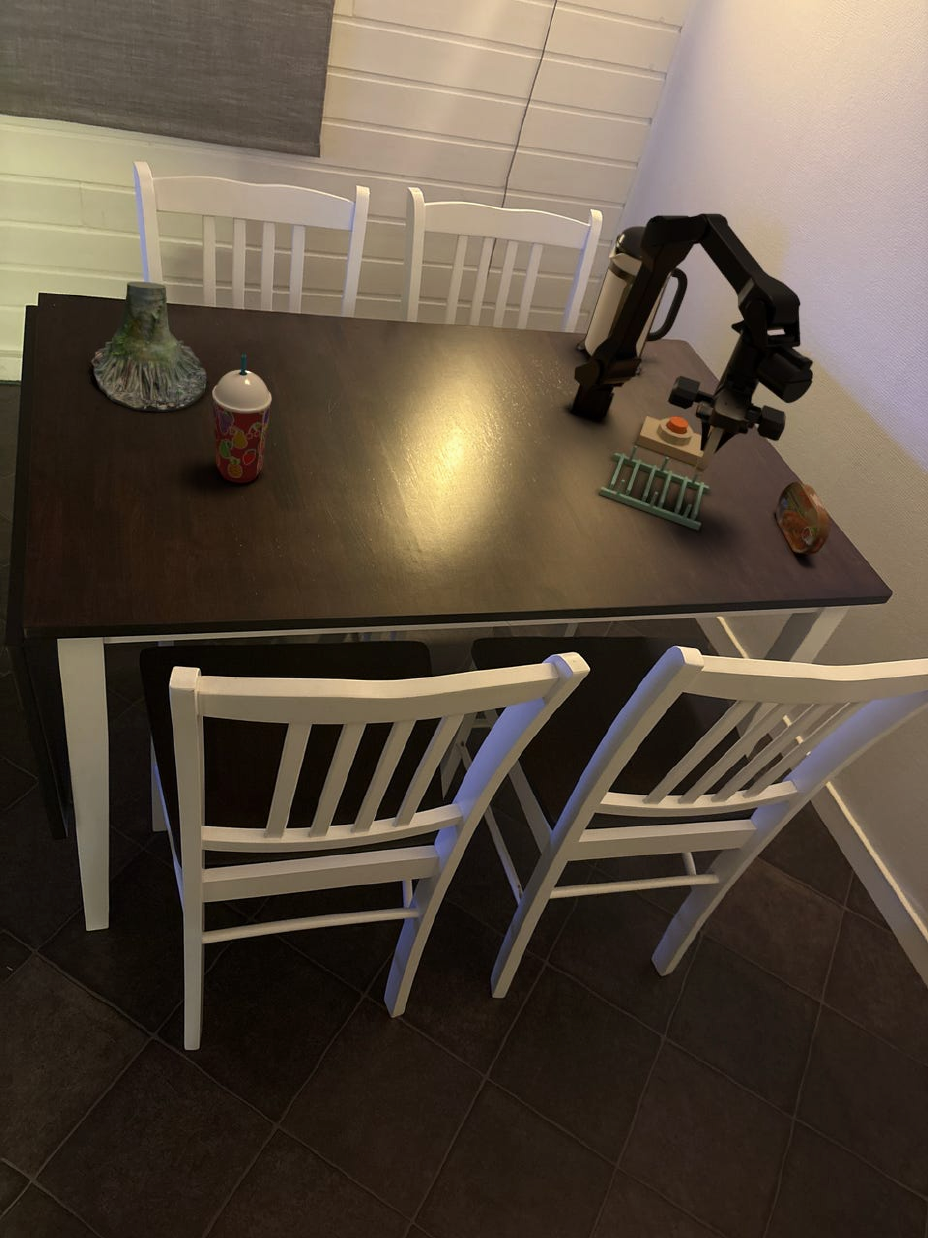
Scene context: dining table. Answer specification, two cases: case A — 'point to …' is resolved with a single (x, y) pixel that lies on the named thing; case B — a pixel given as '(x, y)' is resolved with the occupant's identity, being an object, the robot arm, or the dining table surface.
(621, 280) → the coffee press
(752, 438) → the dining table surface
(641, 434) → the panel
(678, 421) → the button
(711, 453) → the plate
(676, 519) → the rack
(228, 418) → the smoothie
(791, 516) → the tin
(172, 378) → the tree stump
